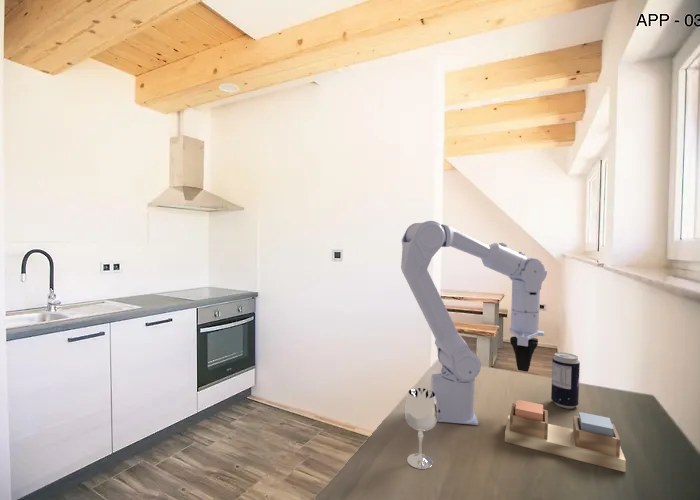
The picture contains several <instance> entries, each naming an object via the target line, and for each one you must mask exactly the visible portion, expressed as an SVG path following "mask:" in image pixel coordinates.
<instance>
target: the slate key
mask: <svg viewBox="0 0 700 500" xmlns="http://www.w3.org/2000/svg"><path fill="white" fill-rule="evenodd" d="M578 417H579V430H583V431H588V432H592V433H597V434H602V435H606V436H611V437H613V434H614V429H613V426H612V424H613V423H612V420H611V418H610V417H606V416H603V415H595V414H592V413H586V412H581V411H579V413H578Z"/></svg>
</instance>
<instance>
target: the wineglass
mask: <svg viewBox="0 0 700 500" xmlns="http://www.w3.org/2000/svg"><path fill="white" fill-rule="evenodd" d="M404 420H405V421H406V423H407V425H408V426H409V427H410V428H412V429H413V430H416V431H417V439H418V453H417V452H416V453H411V454H409V455H408V456H407V458H406V462H407V463H408V465H410V466H411V467H413V468H415V469H419V470H427V469H430V468H431V467H433V465H434V462H433V460H432V458H431V457H430V456H428V455H426V454H423V453H422V451H423V450H422V446H423V439H424V432H428V431H430V430H432V429H434V427H436V425H437V423H438V422H437V420H438V405H437V400H436V395H435V393H434V392H433V391H431V389H428V388H425V387H424V388H423V387H415V388H411V389H409V390H408V392H407V396H406V400H405V404H404Z"/></svg>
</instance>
